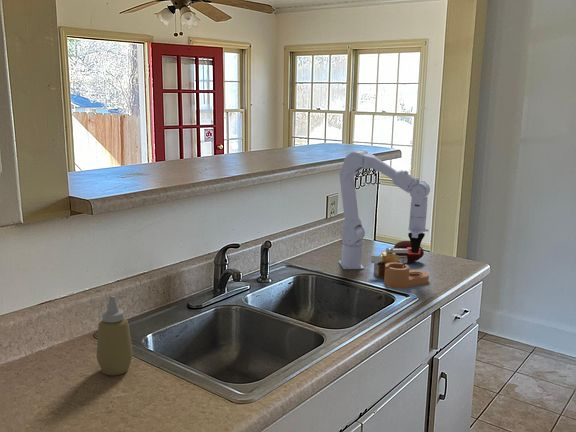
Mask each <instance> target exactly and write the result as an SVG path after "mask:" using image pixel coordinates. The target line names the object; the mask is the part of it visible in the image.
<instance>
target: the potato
mask: <svg viewBox="0 0 576 432" xmlns="http://www.w3.org/2000/svg"><path fill="white" fill-rule="evenodd" d="M407 247H411V242H410V240H401V241H399V242H396V244H394V245H393V249H407ZM420 249H421V252H420V254H408V253H395V254H396V255H398V256H407V263H413V262H417V261H418V260H420V259H422V258H423V256H424V254H425V253H424V252H425V251H424V249H423V247H422V246H420ZM407 263H406V264H407Z"/></svg>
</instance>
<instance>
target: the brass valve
mask: <svg viewBox="0 0 576 432" xmlns="http://www.w3.org/2000/svg"><path fill="white" fill-rule="evenodd" d="M392 262H396V263H403V264H407V256H398V255H396V254H395V253H393V254H387V253H386V251H381V253H380V255H371V256H370V264H373V274H374V275H375V276H376V277H377V279H384V276H385V264H387V263H392Z"/></svg>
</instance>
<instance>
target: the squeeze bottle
mask: <svg viewBox="0 0 576 432" xmlns="http://www.w3.org/2000/svg"><path fill="white" fill-rule="evenodd" d="M101 314H102V320H100V322H99V323H98V325H97V326H98V328H97V331H98V332H97V341H96V342H97V344H96V360H97V363H98V364H99V368H100V370H101V371H102V373H103V374H105V375H107V376H120V375H122V374H125V373H126V372H128V370H129V368H130V365H131V362H132V359H133V355H134V352H133V344H132V337H131V331H130V324H129V320H128V319H127V318H125V313H124V310H123V309H121V308H119V306H118V302H117V299H116V296H115V295H111V296H109V297H108V304H107V309H106V310H103V312H102V313H101Z"/></svg>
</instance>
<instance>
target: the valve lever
mask: <svg viewBox="0 0 576 432" xmlns="http://www.w3.org/2000/svg"><path fill="white" fill-rule="evenodd" d="M393 248H394V247H393ZM393 248H392V247H387V248H386V249H385V250H386V251H385V252H386V253H387V254H393V253H408V254H420V252H421V249H420V248H419V252H418V253H412V249H411V247H407V249H393Z"/></svg>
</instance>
